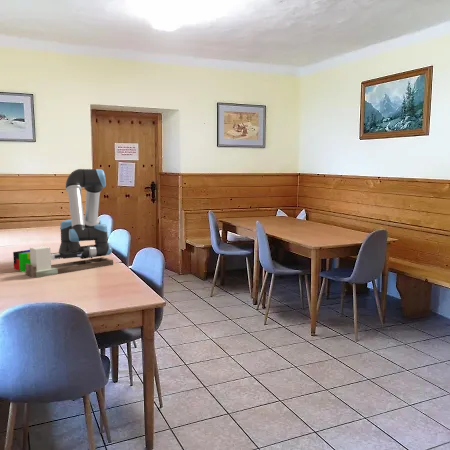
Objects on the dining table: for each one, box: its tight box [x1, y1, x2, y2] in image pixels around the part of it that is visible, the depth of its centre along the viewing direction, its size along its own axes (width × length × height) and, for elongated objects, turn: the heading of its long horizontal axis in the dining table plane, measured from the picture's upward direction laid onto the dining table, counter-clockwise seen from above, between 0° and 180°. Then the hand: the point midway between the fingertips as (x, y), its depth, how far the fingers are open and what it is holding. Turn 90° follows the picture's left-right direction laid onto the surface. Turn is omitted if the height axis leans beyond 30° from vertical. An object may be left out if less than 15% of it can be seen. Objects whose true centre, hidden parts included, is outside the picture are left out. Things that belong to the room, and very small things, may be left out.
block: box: [29, 245, 52, 271], centre depth 253 cm, size 8×8×12 cm
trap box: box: [25, 256, 114, 279], centre depth 266 cm, size 12×48×6 cm, turn 135°
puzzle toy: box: [12, 249, 31, 272], centre depth 267 cm, size 10×10×10 cm
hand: (48, 257), depth 256 cm, fingers closed
